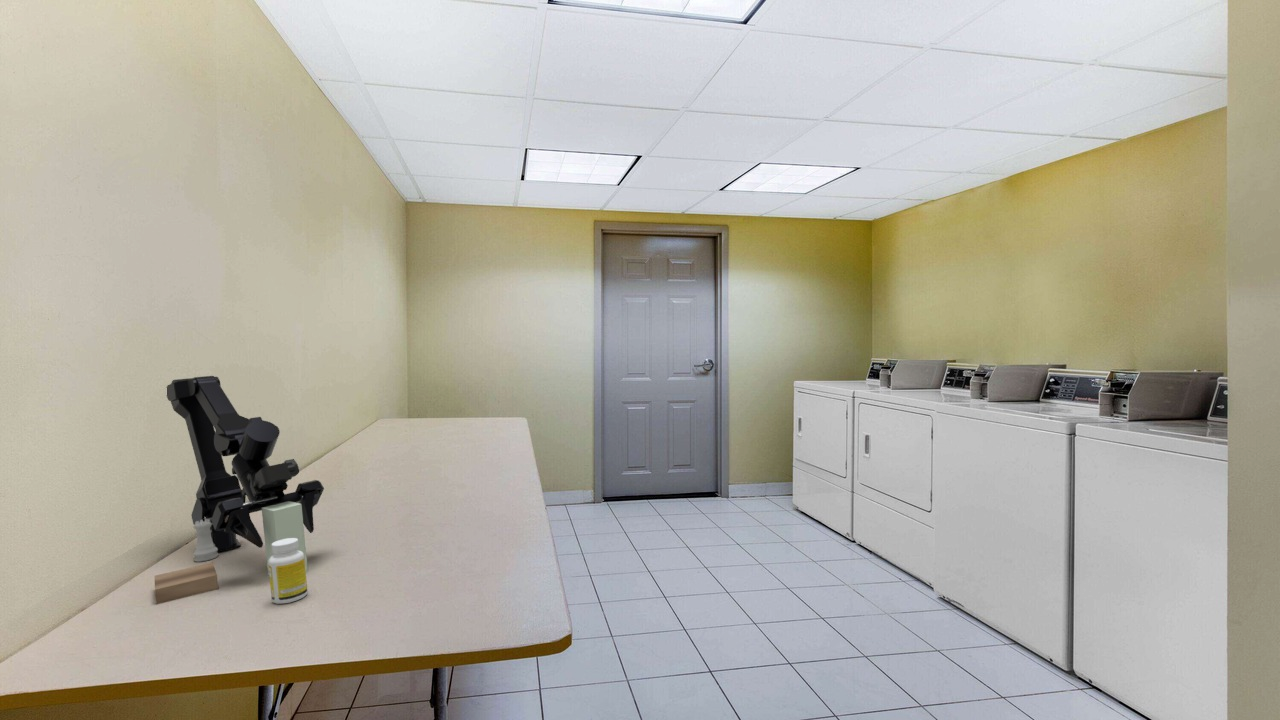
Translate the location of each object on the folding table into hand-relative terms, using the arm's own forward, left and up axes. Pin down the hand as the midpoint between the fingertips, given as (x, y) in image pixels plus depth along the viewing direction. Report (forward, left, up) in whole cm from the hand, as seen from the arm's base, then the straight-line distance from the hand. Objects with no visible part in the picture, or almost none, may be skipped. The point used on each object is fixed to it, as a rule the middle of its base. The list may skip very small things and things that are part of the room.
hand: (287, 538), depth 122 cm
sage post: (-1, 0, -7) cm, 7 cm away
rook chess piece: (-26, -12, -7) cm, 29 cm away
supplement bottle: (+13, -2, -7) cm, 15 cm away
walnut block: (-7, -16, -7) cm, 19 cm away
